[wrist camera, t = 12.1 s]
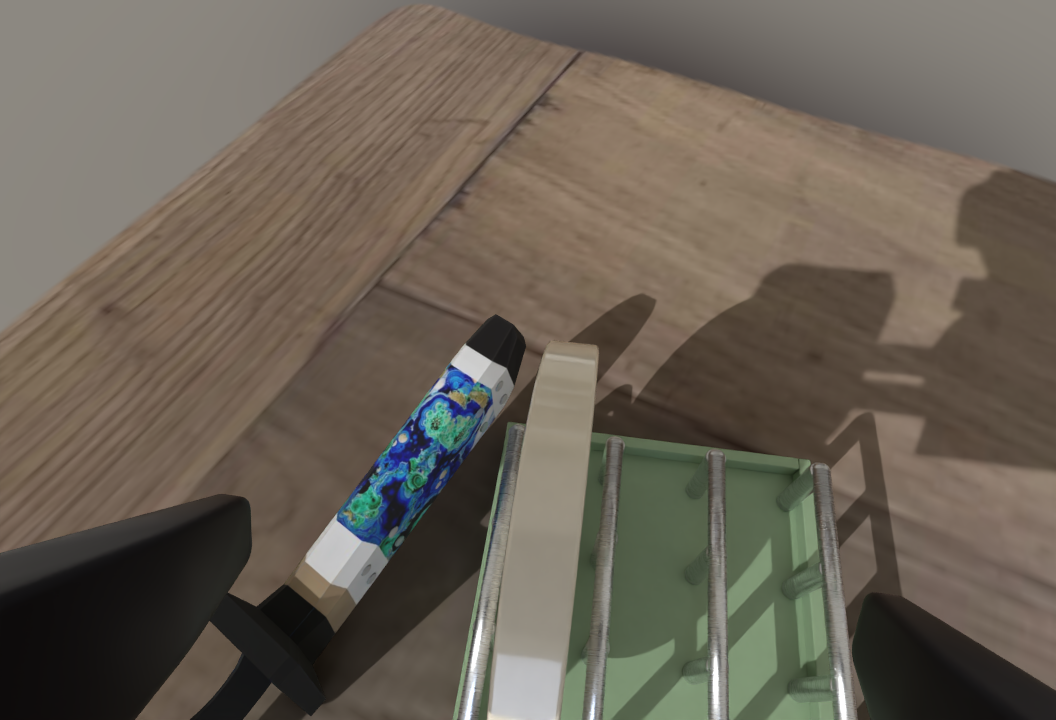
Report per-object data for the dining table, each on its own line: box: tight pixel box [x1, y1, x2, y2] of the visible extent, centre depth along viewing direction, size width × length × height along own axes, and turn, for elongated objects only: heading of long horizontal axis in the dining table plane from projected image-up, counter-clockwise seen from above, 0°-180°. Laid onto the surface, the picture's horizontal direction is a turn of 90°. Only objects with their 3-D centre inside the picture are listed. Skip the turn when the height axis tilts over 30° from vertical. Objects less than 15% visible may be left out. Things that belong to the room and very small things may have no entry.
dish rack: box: [453, 422, 858, 720], centre depth 17 cm, size 11×10×4 cm
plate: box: [487, 340, 599, 720], centre depth 15 cm, size 10×1×10 cm, turn 171°
